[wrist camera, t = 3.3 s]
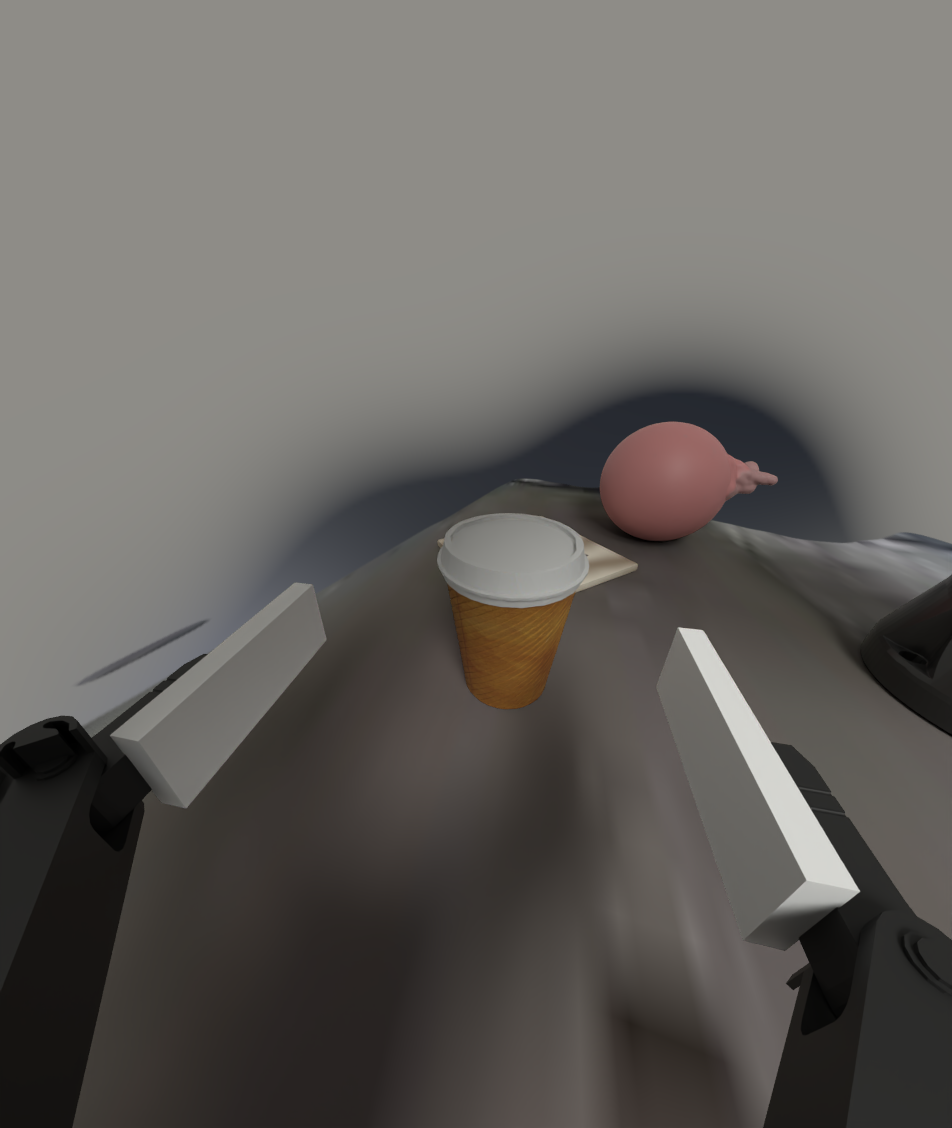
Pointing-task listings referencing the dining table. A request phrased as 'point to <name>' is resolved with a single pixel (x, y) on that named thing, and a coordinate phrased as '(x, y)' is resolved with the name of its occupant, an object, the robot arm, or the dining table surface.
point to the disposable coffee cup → (510, 600)
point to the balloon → (672, 481)
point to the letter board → (599, 564)
